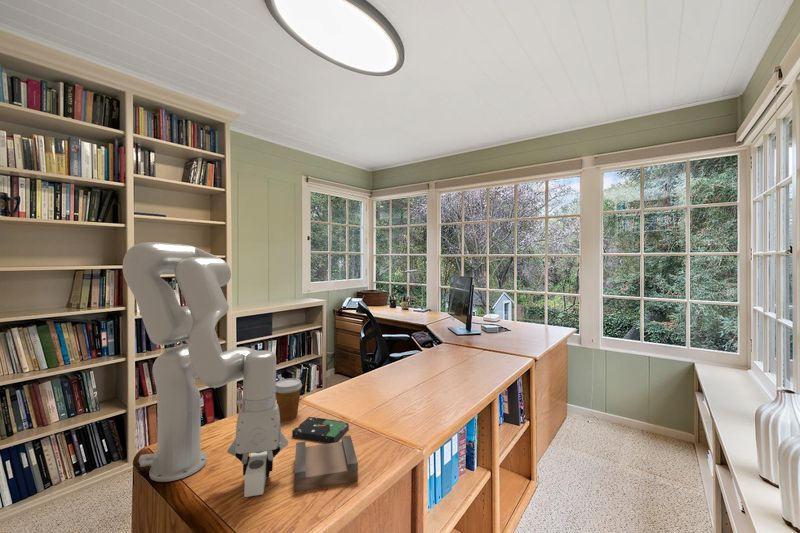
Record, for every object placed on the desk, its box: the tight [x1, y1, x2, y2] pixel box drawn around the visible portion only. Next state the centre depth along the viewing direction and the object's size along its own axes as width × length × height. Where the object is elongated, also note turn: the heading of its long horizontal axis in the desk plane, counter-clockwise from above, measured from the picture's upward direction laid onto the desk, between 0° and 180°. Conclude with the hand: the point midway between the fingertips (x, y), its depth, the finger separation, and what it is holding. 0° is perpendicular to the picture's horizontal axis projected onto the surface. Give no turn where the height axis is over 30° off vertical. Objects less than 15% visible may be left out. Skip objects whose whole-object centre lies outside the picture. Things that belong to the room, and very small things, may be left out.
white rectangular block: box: [243, 451, 268, 498], centre depth 83 cm, size 4×14×5 cm, turn 16°
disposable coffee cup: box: [276, 378, 303, 421], centre depth 118 cm, size 10×10×12 cm
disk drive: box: [291, 416, 350, 444], centre depth 106 cm, size 10×3×15 cm
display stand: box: [293, 434, 359, 493], centre depth 87 cm, size 15×14×4 cm
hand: (258, 474), depth 83 cm, fingers closed on white rectangular block, 4 cm apart
